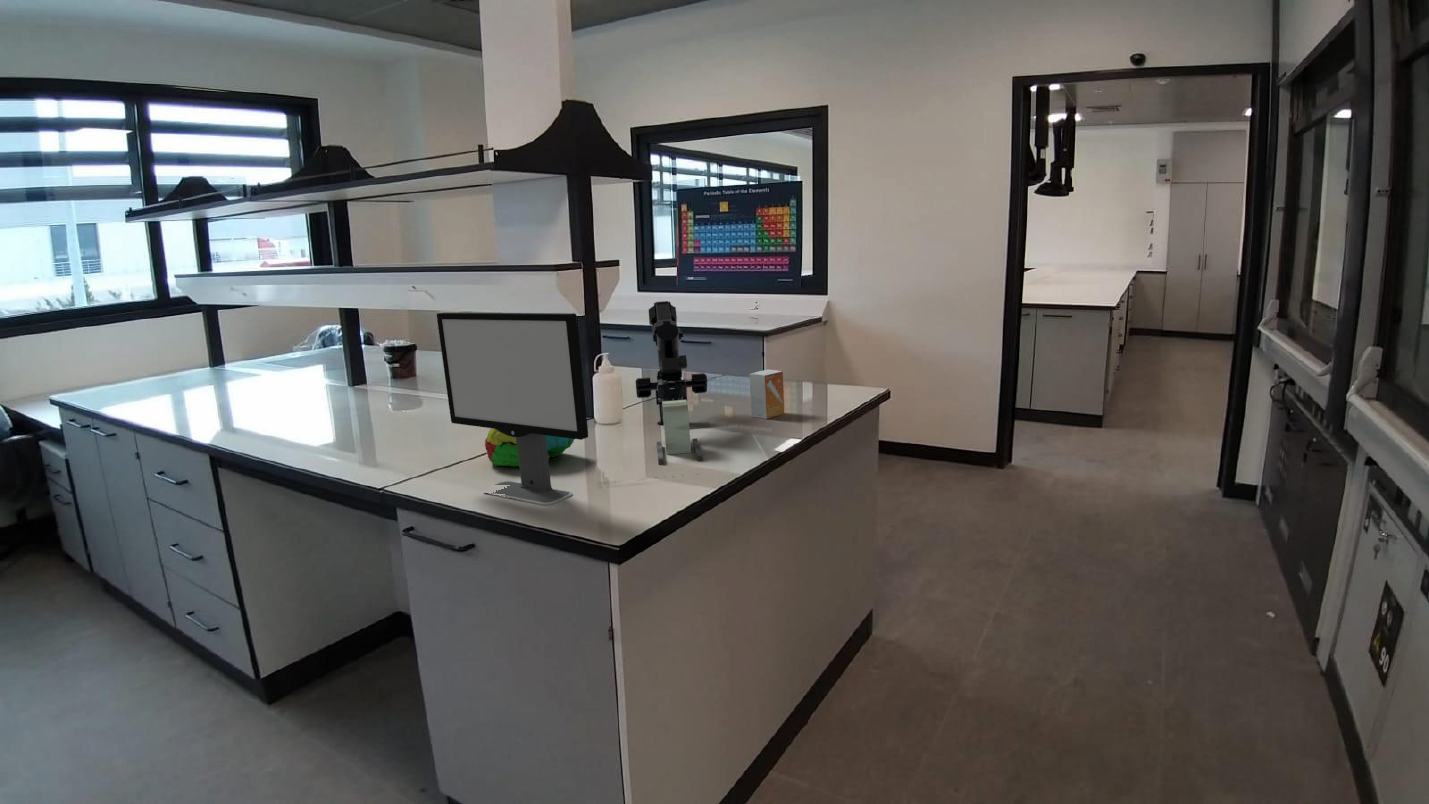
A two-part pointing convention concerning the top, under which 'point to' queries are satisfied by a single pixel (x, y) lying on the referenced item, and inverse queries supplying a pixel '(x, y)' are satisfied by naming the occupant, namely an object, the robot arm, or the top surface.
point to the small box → (767, 393)
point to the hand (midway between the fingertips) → (674, 412)
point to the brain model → (505, 447)
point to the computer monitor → (517, 386)
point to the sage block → (676, 427)
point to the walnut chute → (696, 448)
